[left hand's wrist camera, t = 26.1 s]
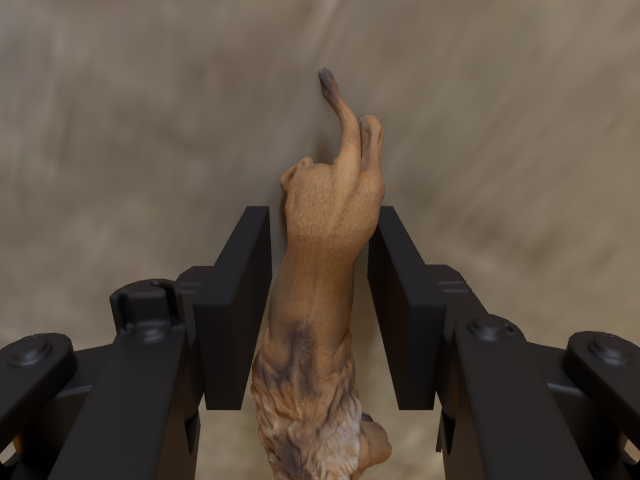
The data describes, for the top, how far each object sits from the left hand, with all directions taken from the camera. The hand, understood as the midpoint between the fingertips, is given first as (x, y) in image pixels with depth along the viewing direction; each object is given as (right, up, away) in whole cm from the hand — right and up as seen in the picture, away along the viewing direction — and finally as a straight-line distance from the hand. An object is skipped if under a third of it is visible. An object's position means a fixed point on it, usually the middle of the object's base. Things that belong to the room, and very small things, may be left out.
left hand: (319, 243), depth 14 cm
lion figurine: (0, 0, +1) cm, 1 cm away
